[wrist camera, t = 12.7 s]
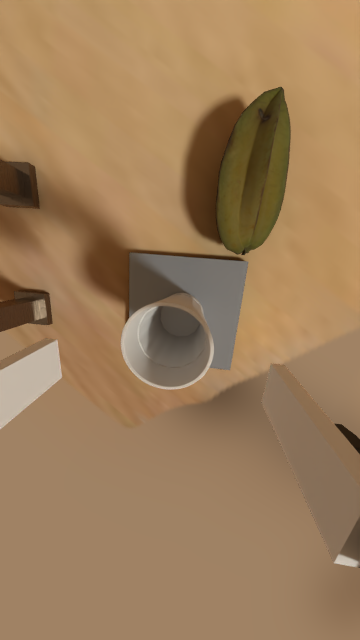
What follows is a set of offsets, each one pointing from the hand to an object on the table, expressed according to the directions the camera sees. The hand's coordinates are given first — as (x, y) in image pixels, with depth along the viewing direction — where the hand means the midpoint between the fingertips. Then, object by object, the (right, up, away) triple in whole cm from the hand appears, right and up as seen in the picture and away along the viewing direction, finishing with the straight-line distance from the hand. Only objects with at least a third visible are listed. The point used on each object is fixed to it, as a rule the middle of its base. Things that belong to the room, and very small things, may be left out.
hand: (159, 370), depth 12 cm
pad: (+2, +4, +17) cm, 18 cm away
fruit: (+10, +19, +12) cm, 25 cm away
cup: (+1, +4, +16) cm, 17 cm away
